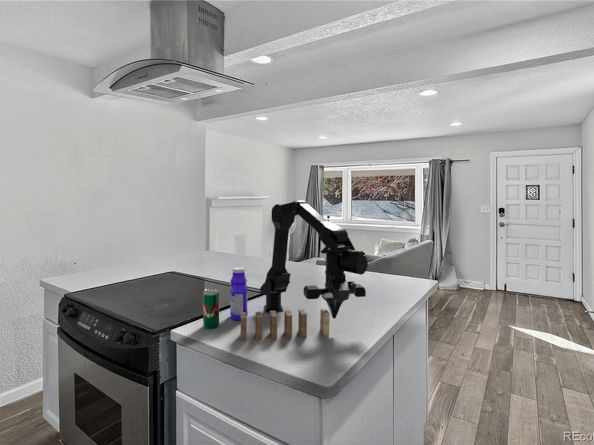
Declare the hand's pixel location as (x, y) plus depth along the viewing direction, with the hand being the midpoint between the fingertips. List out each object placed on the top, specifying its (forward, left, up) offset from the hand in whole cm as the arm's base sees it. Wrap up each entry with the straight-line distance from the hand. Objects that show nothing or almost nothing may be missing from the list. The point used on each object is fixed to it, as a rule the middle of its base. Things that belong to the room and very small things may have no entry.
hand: (333, 318), depth 111 cm
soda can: (-11, -38, -5) cm, 40 cm away
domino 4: (0, -15, -4) cm, 15 cm away
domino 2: (0, -24, -4) cm, 24 cm away
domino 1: (0, -28, -4) cm, 28 cm away
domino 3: (0, -19, -4) cm, 20 cm away
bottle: (-18, -29, -5) cm, 34 cm away
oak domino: (0, -3, -4) cm, 5 cm away
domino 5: (0, -10, -4) cm, 11 cm away
